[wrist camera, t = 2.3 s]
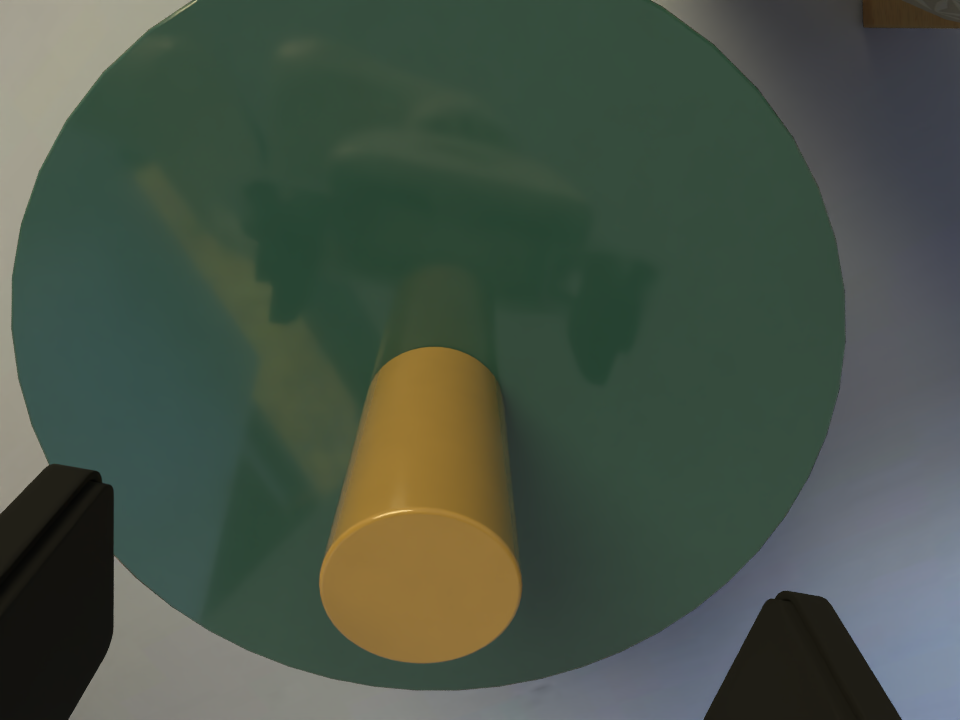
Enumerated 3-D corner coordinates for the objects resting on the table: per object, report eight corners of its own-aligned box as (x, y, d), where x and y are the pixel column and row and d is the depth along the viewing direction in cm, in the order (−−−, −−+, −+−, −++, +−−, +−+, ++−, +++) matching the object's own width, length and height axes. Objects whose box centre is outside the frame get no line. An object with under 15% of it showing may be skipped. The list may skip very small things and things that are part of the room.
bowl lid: (54, 604, 19) (-137, 874, 13) (20, -176, 12) (-454, -389, 6) (669, 694, 21) (752, 965, 15) (970, 73, 14) (1370, 112, 8)
